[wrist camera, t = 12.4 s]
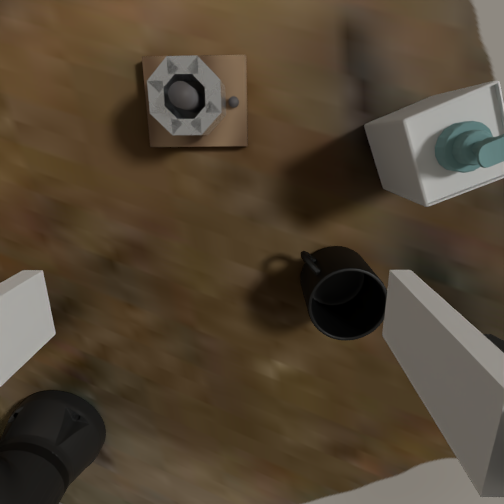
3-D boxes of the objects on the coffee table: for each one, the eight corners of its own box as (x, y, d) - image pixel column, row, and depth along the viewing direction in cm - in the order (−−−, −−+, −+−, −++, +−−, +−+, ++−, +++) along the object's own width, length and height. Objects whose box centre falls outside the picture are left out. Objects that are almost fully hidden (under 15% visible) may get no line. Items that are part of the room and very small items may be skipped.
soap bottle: (450, 162, 45) (577, 180, 27) (382, 189, 46) (460, 223, 28) (433, 94, 43) (560, 63, 25) (362, 124, 44) (434, 116, 26)
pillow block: (153, 146, 45) (125, 149, 36) (145, 59, 42) (112, 36, 33) (247, 145, 45) (244, 148, 36) (246, 57, 42) (242, 34, 32)
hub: (164, 135, 42) (152, 135, 37) (158, 66, 40) (144, 56, 35) (226, 134, 42) (222, 134, 37) (224, 65, 40) (219, 55, 35)
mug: (323, 218, 48) (337, 236, 39) (381, 277, 50) (406, 306, 41) (273, 265, 50) (276, 291, 41) (330, 319, 52) (344, 354, 44)
